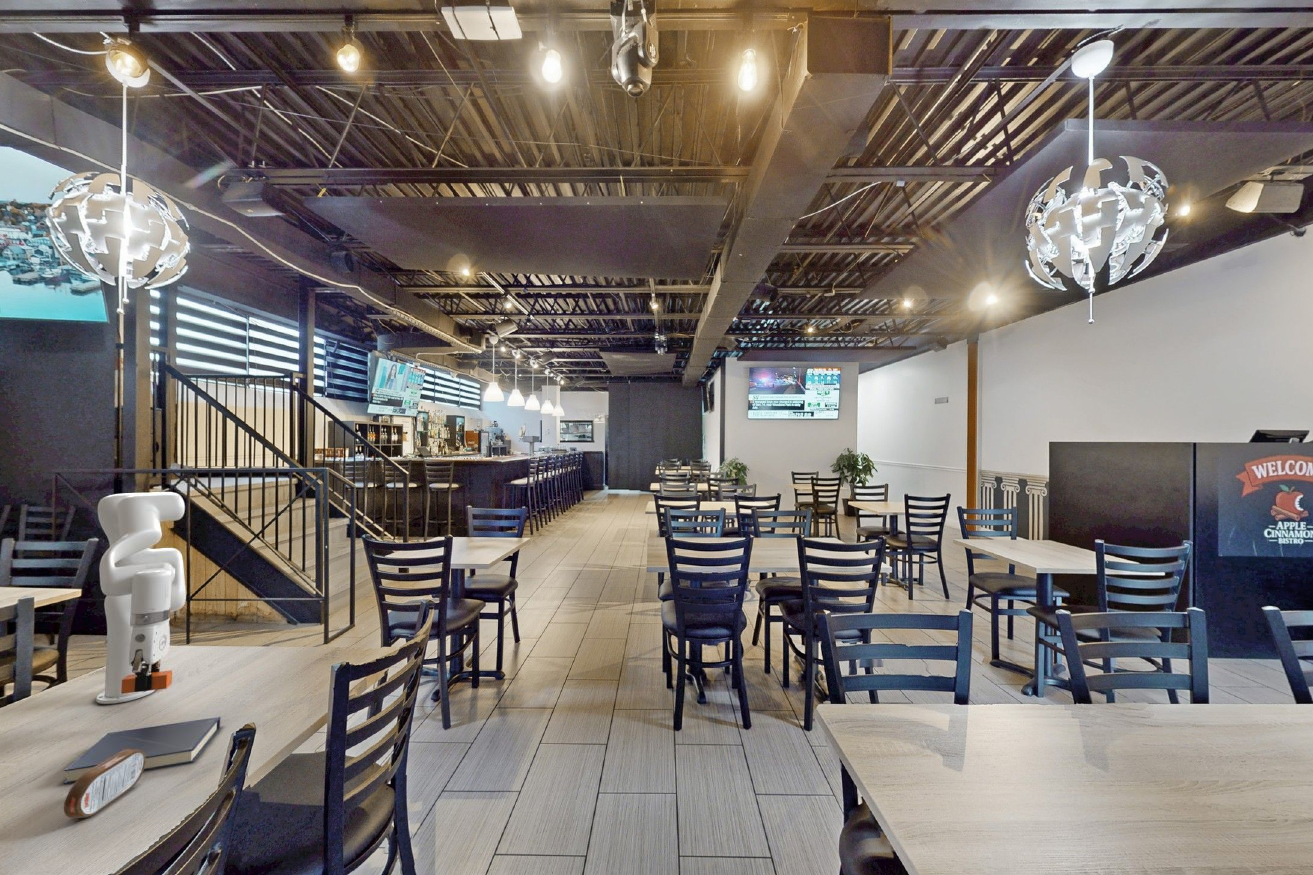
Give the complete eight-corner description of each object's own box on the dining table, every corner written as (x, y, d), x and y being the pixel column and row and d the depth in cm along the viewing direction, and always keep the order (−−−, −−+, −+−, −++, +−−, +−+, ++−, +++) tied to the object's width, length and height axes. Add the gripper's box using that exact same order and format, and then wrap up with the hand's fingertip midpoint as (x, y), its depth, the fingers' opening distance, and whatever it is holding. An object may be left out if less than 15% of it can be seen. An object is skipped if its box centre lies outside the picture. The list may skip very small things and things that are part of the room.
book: (107, 745, 127) (108, 732, 127) (220, 728, 136) (220, 716, 136) (63, 784, 112) (64, 770, 112) (192, 762, 121) (193, 749, 121)
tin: (133, 779, 114) (134, 740, 114) (148, 779, 114) (150, 740, 115) (60, 828, 99) (62, 783, 99) (78, 828, 99) (81, 782, 100)
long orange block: (127, 688, 136) (128, 674, 136) (171, 683, 140) (172, 670, 140) (121, 693, 133) (121, 679, 134) (166, 688, 137) (166, 674, 137)
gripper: (153, 625, 131) (149, 699, 130) (182, 606, 146) (179, 672, 146) (113, 628, 128) (109, 704, 128) (148, 608, 143) (144, 676, 143)
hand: (146, 686), depth 137 cm, fingers closed on long orange block, 3 cm apart
